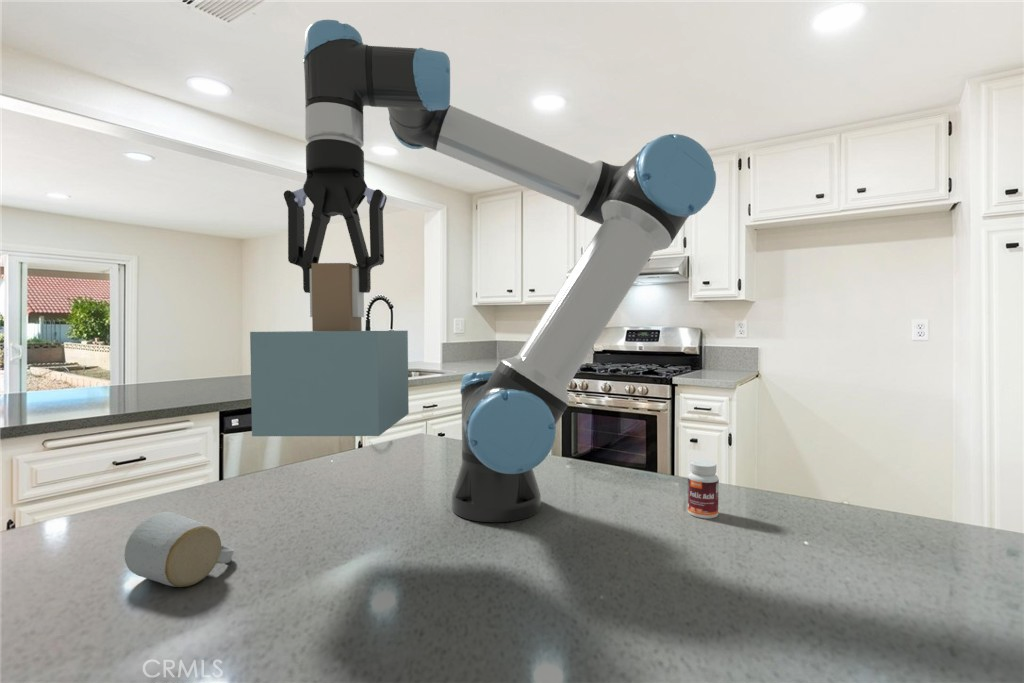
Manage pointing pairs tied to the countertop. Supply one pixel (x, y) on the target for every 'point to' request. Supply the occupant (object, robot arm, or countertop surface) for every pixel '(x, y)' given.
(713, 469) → the pill bottle
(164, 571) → the ceramic mug
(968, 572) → the countertop surface
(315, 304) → the pale blue storage box
